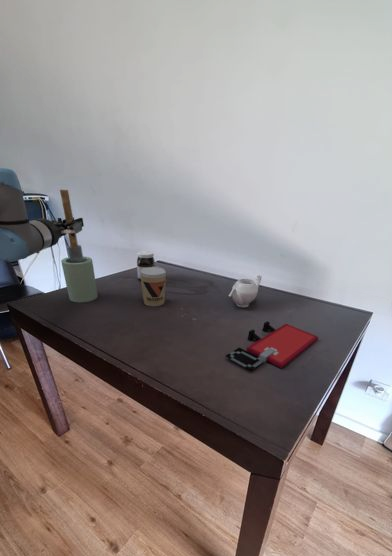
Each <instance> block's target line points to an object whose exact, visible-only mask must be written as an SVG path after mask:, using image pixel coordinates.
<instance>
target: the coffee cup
mask: <svg viewBox="0 0 392 556" xmlns="http://www.w3.org/2000/svg"><path fill="white" fill-rule="evenodd" d="M158 267H159V266H158ZM158 267H157V266H155V267H147V268H143V269H141V271H140V277H141V281H140V283H141V284H140V285H141V292H142V293H141V294H142V300H143V303H144V305H146V306H148V307H160V306H162V305H164V304H165V302H166V301H165V299H166V283H167V282H166V281H167V280H166V279H167V272H166V269H164V268H163V267H160V268H158Z"/></svg>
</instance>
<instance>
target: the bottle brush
mask: <svg viewBox="0 0 392 556" xmlns="http://www.w3.org/2000/svg"><path fill="white" fill-rule="evenodd" d="M59 192H60V196H61V197H60V199H61V203H62V208H63V214H64V219H65V220H66V223H69V222H72V220H73V217H74V214H73V209H72V204H71V199H70V193H69V189H59ZM67 235H68V240H69V245H67V251H68V257H70V262H71V263H82V262H84V260H83V256H84V254H83V248H82V245H80V244H78V243H79V242H78V238H77V234H75V236H71V235H69V233H67Z"/></svg>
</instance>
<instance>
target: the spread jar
mask: <svg viewBox="0 0 392 556" xmlns="http://www.w3.org/2000/svg"><path fill="white" fill-rule="evenodd" d="M147 267H158V268H161V267H160V266H158V265H157V266H156V259H155V255H154V252H153V251H151V250H140V251H138V252H137V259H136V270H137V279H138V280H139V281H140V282H141V277H140V271H141V269H143V268H147Z"/></svg>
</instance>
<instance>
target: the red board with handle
mask: <svg viewBox="0 0 392 556" xmlns="http://www.w3.org/2000/svg"><path fill="white" fill-rule="evenodd" d="M270 324H271V323H270V321H268V320H267V321H265V322H263V327H262V332H267V331H270V332H269V333H268V334H266V335H265V336H264V337H262V338H261V337H260V336H259V335H257V334H256V330H255V329H253V328H252V329H251V330H248V334H247V341H252V340H255V342H254V343H252V344H250V345H249V346H246V350H245V349H243V348H242V347H238V348H236V349H234V350H233V351H231V352H229V353H228V354H226V355H225V358H228V359H230V360H231V361H232V362H235V363H237V364H238V365H240V366H242V367H243V368H246V369H247V370H249V371H252V370H253V369H255V368H256V367H258V366H259V365H261V364H266V363H267V362H269V363H270V364H272V365H274V366H276V367H278V368H280V369H283V368H285V366H288V364H289V363H291V362H292V361H293V360H294V359H296V358H297V357H298V356H299V355H300V354H302V353H303V352H304V351H305V350H307V349H308V348H309V347H310V346H311V345H313V344H314V343H316V342H317V341H318V340H319V336H317V335H315V334H312V333H310V332H308V331H305V330H303V329H300V328H298V327H296V326H293V325H290V324H287V323H285V324H283V325H281V326H279V327H278V328H276V329H275V328H274V327H273V326H271V325H270Z"/></svg>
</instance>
